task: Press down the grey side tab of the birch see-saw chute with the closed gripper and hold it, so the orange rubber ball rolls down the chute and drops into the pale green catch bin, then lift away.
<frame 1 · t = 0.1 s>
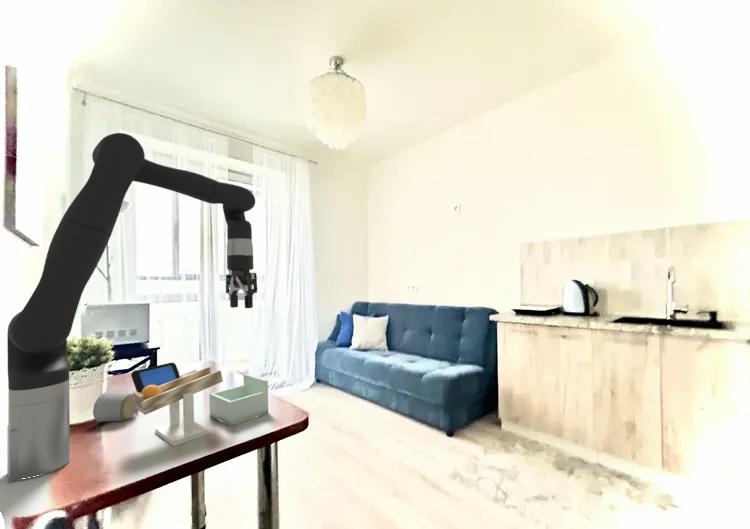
hand: (241, 307, 108), 29 cm above the table, tool pointing down, fingers open, 8 cm apart
chute stand: (181, 433, 88), on the table
grey canister: (119, 419, 100), on the table
catch bin: (239, 414, 99), on the table
tablet display: (165, 395, 120), on the table
chute lever: (173, 383, 91), point 11 cm above the table, hinge at -10.0°, touching ball
ball: (150, 393, 83), point 11 cm above the table, tilted 22°, touching chute lever
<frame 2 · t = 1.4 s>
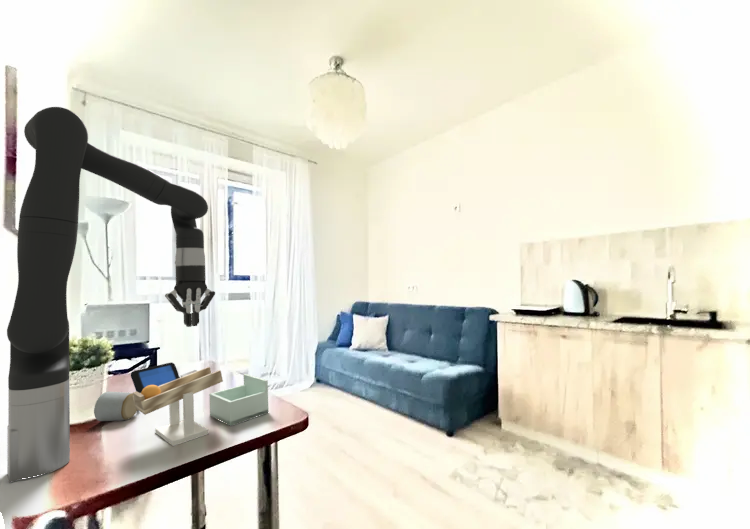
hand: (191, 326, 100), 25 cm above the table, tool pointing down, fingers closed
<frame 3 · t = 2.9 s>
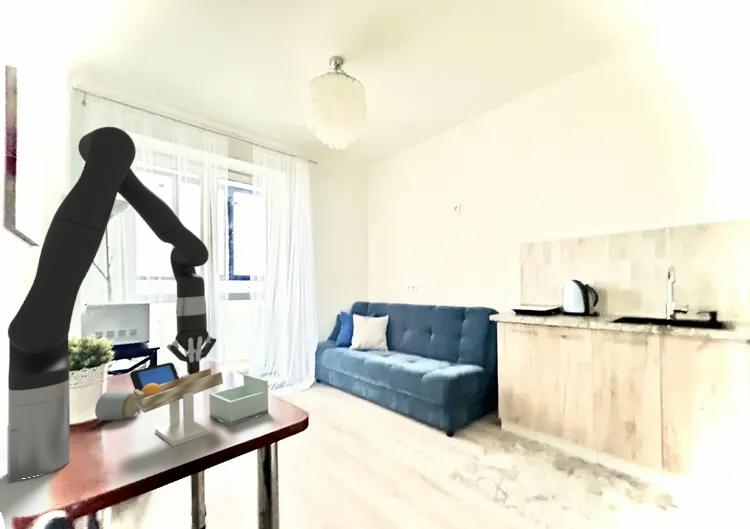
hand: (193, 374, 99), 11 cm above the table, tool pointing down, fingers closed
chute lever: (173, 383, 91), point 11 cm above the table, hinge at -6.8°, touching ball, gripper
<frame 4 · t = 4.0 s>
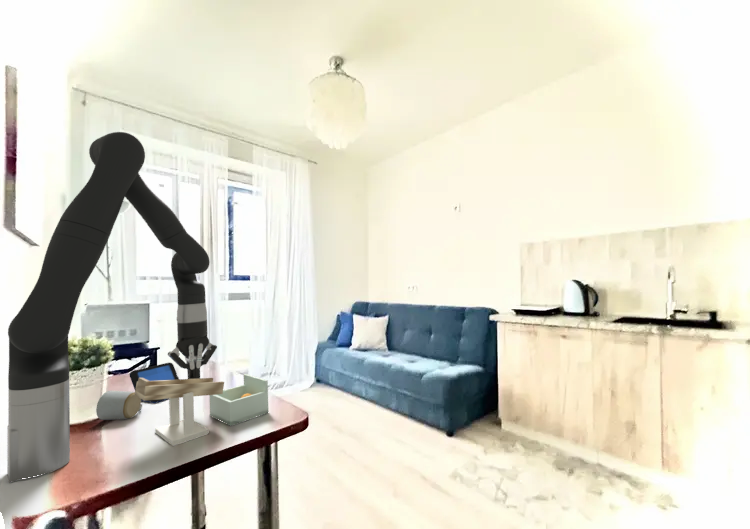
hand: (194, 381, 99), 9 cm above the table, tool pointing down, fingers closed
chute lever: (175, 383, 91), point 11 cm above the table, hinge at 10.3°, touching gripper
ball: (247, 400, 101), point 3 cm above the table, tilted 28°, touching catch bin
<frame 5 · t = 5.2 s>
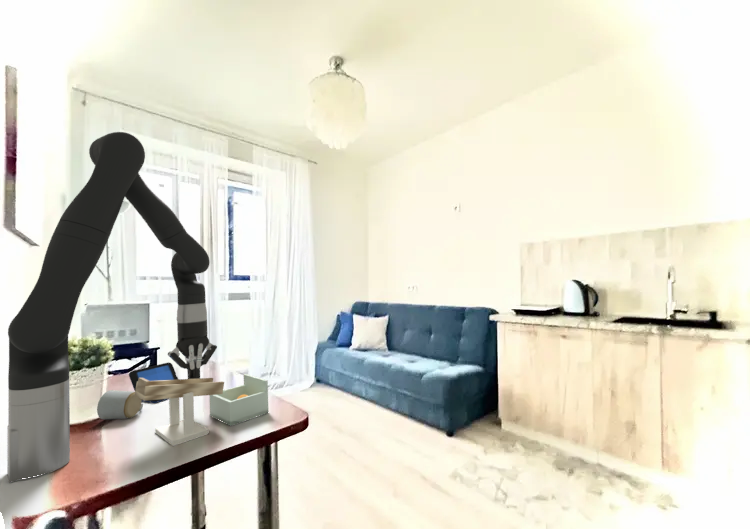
hand: (194, 381, 99), 9 cm above the table, tool pointing down, fingers closed
ball: (243, 402, 100), point 3 cm above the table, tilted 60°, touching catch bin
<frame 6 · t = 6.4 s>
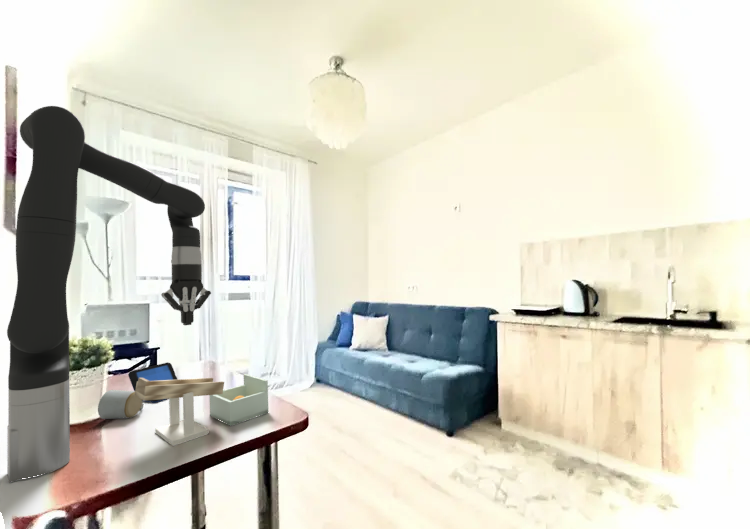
hand: (187, 324, 100), 25 cm above the table, tool pointing down, fingers closed
chute lever: (175, 383, 91), point 11 cm above the table, hinge at 10.3°
ball: (239, 403, 99), point 3 cm above the table, tilted 93°, touching catch bin
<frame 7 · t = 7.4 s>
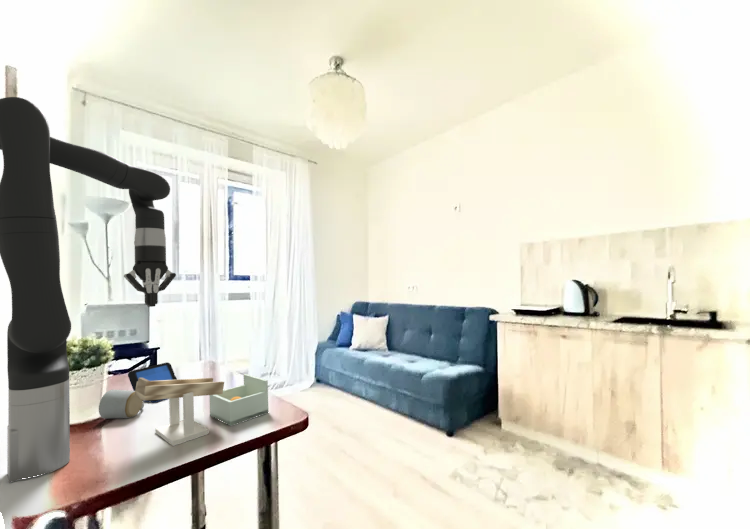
hand: (151, 306, 100), 31 cm above the table, tool pointing down, fingers closed
ball: (236, 404, 98), point 3 cm above the table, tilted 120°, touching catch bin
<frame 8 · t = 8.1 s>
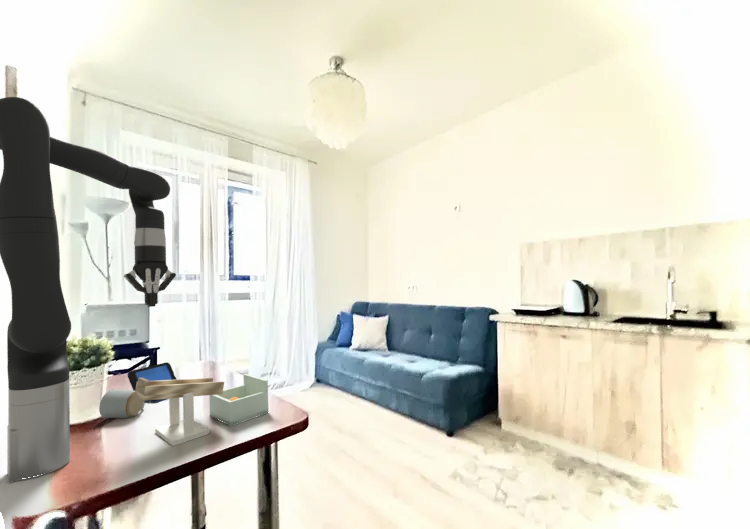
hand: (151, 306, 100), 31 cm above the table, tool pointing down, fingers closed
ball: (234, 404, 98), point 3 cm above the table, tilted 139°, touching catch bin
at the end: ball inside the target area on the catch bin (1.6 cm from its centre), point 3.0 cm above the catch bin's base; chute lever at +10° (first picture: -10°) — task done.
